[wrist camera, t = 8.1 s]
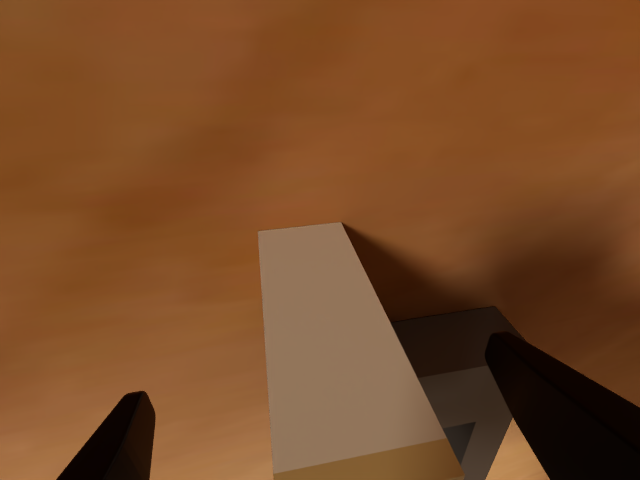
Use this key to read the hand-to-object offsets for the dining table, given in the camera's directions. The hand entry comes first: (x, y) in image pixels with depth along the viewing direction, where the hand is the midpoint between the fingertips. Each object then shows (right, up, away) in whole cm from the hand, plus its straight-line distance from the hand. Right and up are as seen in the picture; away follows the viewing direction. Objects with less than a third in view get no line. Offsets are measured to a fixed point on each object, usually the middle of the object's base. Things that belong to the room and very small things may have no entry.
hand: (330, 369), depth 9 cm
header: (+4, -5, +10) cm, 12 cm away
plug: (-1, +3, +4) cm, 5 cm away
